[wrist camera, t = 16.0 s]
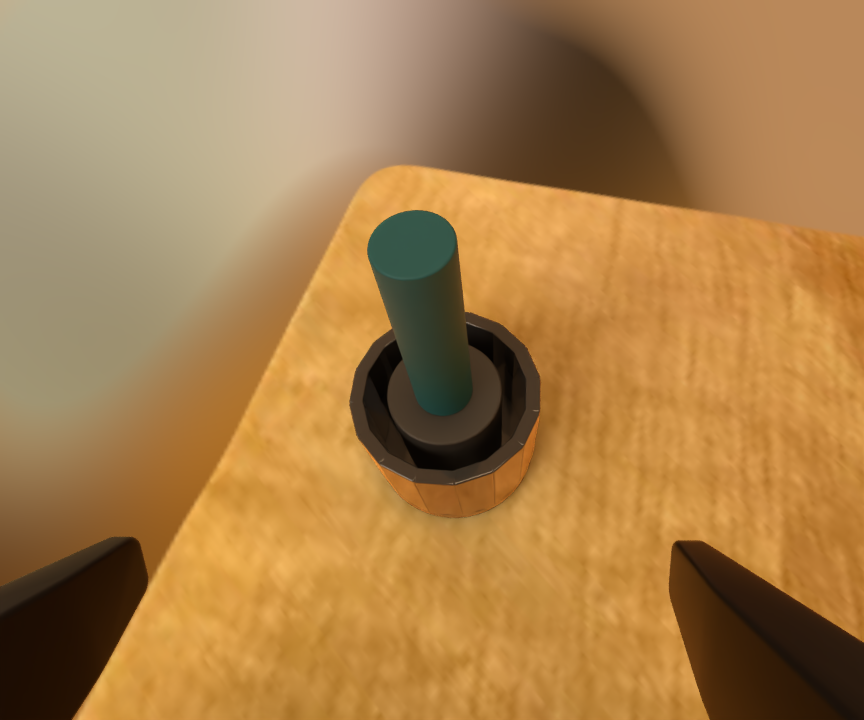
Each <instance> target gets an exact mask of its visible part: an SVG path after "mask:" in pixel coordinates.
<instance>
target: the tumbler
mask: <svg viewBox="0 0 864 720" xmlns="http://www.w3.org/2000/svg"><path fill="white" fill-rule="evenodd" d="M465 319H466V329H467V338H468V345H470V346H472V347H474V348H476V349H478V350H479V351H481V352H482V353H484V354H485V355H486V356H487V357H488V358H489V359H490V360H491V361H492V363H493V364H494V366H495V367H496V369H497V371H498V373H499V376H500V379H501V384H502V441H501V447H500V448H499V449H498V450H497V451H495V452H494V453H493V454H492V455H491V456H489V457H488V458H487V459H486V460H483V461H480V462H477V463H474V464H471V465H468V466H465V467H462V468H459V469H456V470H439V469H425V468H418V466H417V465H416V464H415V463H414V461H413V460H412V458H411V456H410V454H409V452H408V450H407V447H406V445H405V443H404V441H403V439H402V437H401V435H400V433H399V430H398V428H397V426H396V424H395V422H394V420H393V418H392V416H391V413H390V410H389V407H388V402H387V391H388V385H389V381H390V378H391V376H392V374H393V372H394V370H395V368H396V367H397V365H398V364H399V363H400V362H401V361H402V359H403V358H402V355H401V352H400V349H399V347H398V344H397V341H396V338H395V335H394V332H393V329H391V330H389V331H388V332H387V333H385V334H384V335H383V336H381V337H380V338H379V339H377V340H376V341H375V342H374V343H373V344H372V346H371V347H370V349H369V350H368V352H367V353H366V355H365V356H364V358H363V359H362V361H361V362H360V364H359V365H358V367H357V368H356V371H355V375H354V380H353V385H352V391H351V396H350V401H349V403H350V404H349V406H350V410H351V414H352V418H353V423H354V427H355V431H356V435H357V437H358V439H359V441H360V442H361V443H362V445H363V446H364V448H365V449H366V451H367V452H368V454H369V455H370V457H371V458H372V460H373V461H374V462H375V464H376V465H377V467H378V468H379V470H380V471H381V473H382V474H383V475H384V477H385V478H386V479H387V481H388V482H389V483H390V484H391V486H392V487H393V489H394V490H395V491H396V492H397V493H398V495H399V496H400V497H401V498H402V499H404V500H405V501H406V502H408V503H409V504H411V505H412V506H414V507H415V508H417V509H419V510H421V511H424V512H426V513H429V514H432V515H435V516H441V517H447V518H460V517H469V516H473V515H477V514H480V513H483V512H485V511H488V510H490V509H492V508H493V507H495V506H497V505H499V504H500V503H501V502H503V501H504V500H505V499H507V498H508V497H509V496H510V495H511V494H512V493H513V492H514V491H515V489H516V488H517V487H518V485H519V484H520V483H521V481H522V479H523V477H524V476H525V474H526V472H527V469H528V466H529V464H530V460H531V458H532V456H533V451H534V445H535V440H536V434H537V428H538V422H539V416H540V376H539V373H538V371H537V369H536V367H535V365H534V362H533V360H532V358H531V356H530V354H529V352H528V349H527V348H526V347H525V345H524V344H523V343H521V342H520V341H519V340H518V339H517V338H516V337H515V336H514V335H513V334H511V333H510V332H509V331H508V330H507V329H506V328H505V327H504V326H503V325H501V324H499V323H497V322H494V321H492V320H489V319H486V318H484V317H481V316H478V315H476V314H473V313H470V312H465Z"/></svg>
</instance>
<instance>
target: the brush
mask: <svg viewBox="0 0 864 720" xmlns="http://www.w3.org/2000/svg"><path fill="white" fill-rule="evenodd" d="M367 253H368V258H369V261H370V264H371V267H372V270H373V273H374V276H375V279H376V282H377V285H378V288H379V291H380V294H381V296H382V299H383V302H384V305H385V308H386V311H387V314H388V317H389V320H390V323H391V326H392V329H393V332H394V335H395V338H396V341H397V344H398V347H399V349H400V352H401V355H402V358H403V359H402V361H401V362H400V363H399V364H398V365H397V367H396V368H395V370H394V372H393V374H392V376H391V378H390V381H389V385H388V391H387V402H388V407H389V410H390V413H391V416H392V418H393V420H394V422H395V424H396V426H397V428H398V430H399V433H400V435H401V437H402V439H403V441H404V443H405V445H406V447H407V450H408V452H409V454H410V456H411V458H412V460H413V461H414V463H415V464H416V465H417V466H418V468H425V469H439V470H456V469H459V468H462V467H465V466H468V465H471V464H474V463H477V462H480V461H483V460H486V459H487V458H488V457H489V456H491V455H492V454H493V453H494V452H495V451H497V450H498V449H499V448H500V447H501V441H502V384H501V379H500V376H499V373H498V371H497V369H496V367H495V366H494V364H493V363H492V361H491V360H490V359H489V358H488V357H487V356H486V355H485V354H484V353H482V352H481V351H479V350H478V349H476V348H474V347H472V346H470V345H468V338H467V329H466V319H465V310H464V301H463V291H462V282H461V272H460V263H459V254H458V244H457V236H456V233H455V231H454V229H453V227H452V226H451V225H450V223H449V222H448V221H447V220H446V219H444V218H443V217H441V216H439V215H438V214H435V213H432V212H428V211H422V210H413V211H405V212H402V213H398V214H396V215H393V216H391V217H389V218H388V219H386V220H385V221H383V222H382V223H381V224H380V225H379V226H377V228H376V229H375V230H374V232H373V233H372V235H371V237H370V239H369V243H368V248H367Z"/></svg>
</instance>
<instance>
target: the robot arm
mask: <svg viewBox="0 0 864 720" xmlns="http://www.w3.org/2000/svg"><path fill="white" fill-rule="evenodd" d="M147 586H148V573H147V569H146V565H145V561H144V558H143V553H142V550H141V546H140V543H139V541H138V540H137V539H136V538H134V537H111V538H108V539H106V540H103V541H101V542H99V543H97V544H94V545H92V546H90V547H88V548H86V549H83V550H81V551H79V552H77V553H74V554H72V555H70V556H68V557H65V558H63V559H61V560H59V561H57V562H54V563H52V564H50V565H47V566H45V567H43V568H41V569H38V570H36V571H34V572H32V573H29V574H27V575H25V576H23V577H21V578H18V579H16V580H14V581H12V582H9V583H7V584H5V585H3V586H0V720H72V719H73V717H74V716H75V714H76V713H77V711H78V710H79V708H80V707H81V705H82V704H83V702H84V700H85V699H86V697H87V696H88V694H89V693H90V691H91V690H92V688H93V686H94V685H95V683H96V681H97V680H98V678H99V677H100V675H101V673H102V671H103V670H104V668H105V666H106V664H107V662H108V661H109V659H110V657H111V655H112V653H113V651H114V649H115V648H116V646H117V644H118V642H119V640H120V638H121V636H122V635H123V633H124V631H125V629H126V627H127V625H128V623H129V622H130V620H131V618H132V616H133V614H134V612H135V610H136V609H137V607H138V605H139V603H140V601H141V599H142V597H143V596H144V594H145V592H146V589H147ZM669 594H670V599H671V603H672V606H673V609H674V612H675V616H676V619H677V622H678V625H679V628H680V632H681V635H682V638H683V641H684V645H685V648H686V651H687V654H688V657H689V661H690V664H691V667H692V670H693V674H694V677H695V680H696V683H697V686H698V689H699V692H700V695H701V698H702V701H703V703H704V706H705V708H706V711H707V713H708V716H709V718H710V720H864V643H863V642H862V641H860V640H859V639H857V638H855V637H854V636H852V635H851V634H849V633H848V632H846V631H844V630H843V629H841V628H840V627H838V626H836V625H835V624H833V623H832V622H830V621H828V620H827V619H825V618H824V617H822V616H821V615H819V614H817V613H816V612H814V611H813V610H811V609H809V608H808V607H806V606H805V605H803V604H802V603H800V602H798V601H797V600H795V599H794V598H792V597H790V596H789V595H787V594H786V593H784V592H783V591H781V590H779V589H778V588H776V587H775V586H773V585H771V584H770V583H768V582H767V581H765V580H764V579H762V578H760V577H759V576H757V575H756V574H754V573H752V572H751V571H749V570H748V569H746V568H744V567H743V566H741V565H740V564H738V563H737V562H735V561H733V560H732V559H730V558H729V557H727V556H725V555H724V554H722V553H721V552H719V551H718V550H716V549H714V548H713V547H711V546H710V545H708V544H706V543H705V542H703V541H681V540H678V541H676V542H675V543H674V544H673V546H672V551H671V563H670V576H669Z"/></svg>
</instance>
